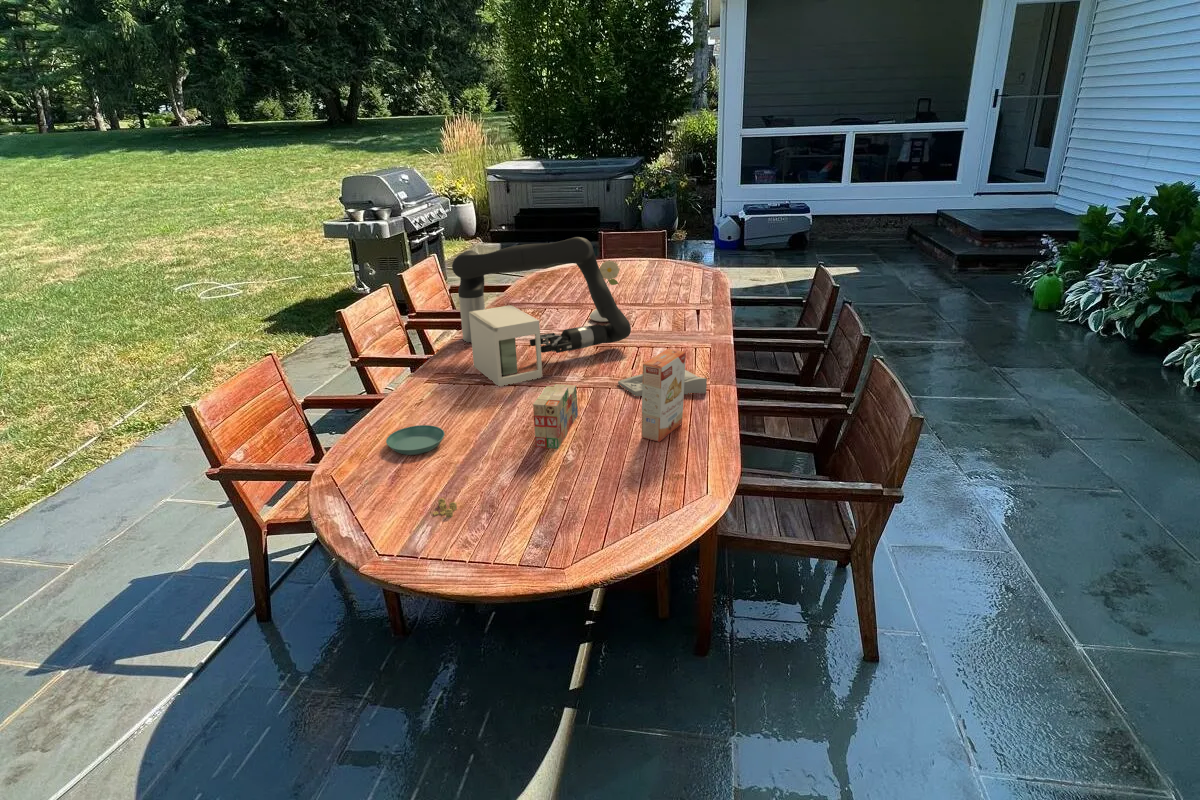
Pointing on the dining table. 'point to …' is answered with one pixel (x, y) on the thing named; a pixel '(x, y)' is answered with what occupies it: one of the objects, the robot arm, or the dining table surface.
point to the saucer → (415, 439)
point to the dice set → (443, 508)
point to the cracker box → (662, 394)
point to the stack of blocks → (554, 415)
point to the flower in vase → (608, 272)
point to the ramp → (690, 384)
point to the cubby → (501, 326)
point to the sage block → (508, 356)
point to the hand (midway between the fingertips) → (535, 346)
